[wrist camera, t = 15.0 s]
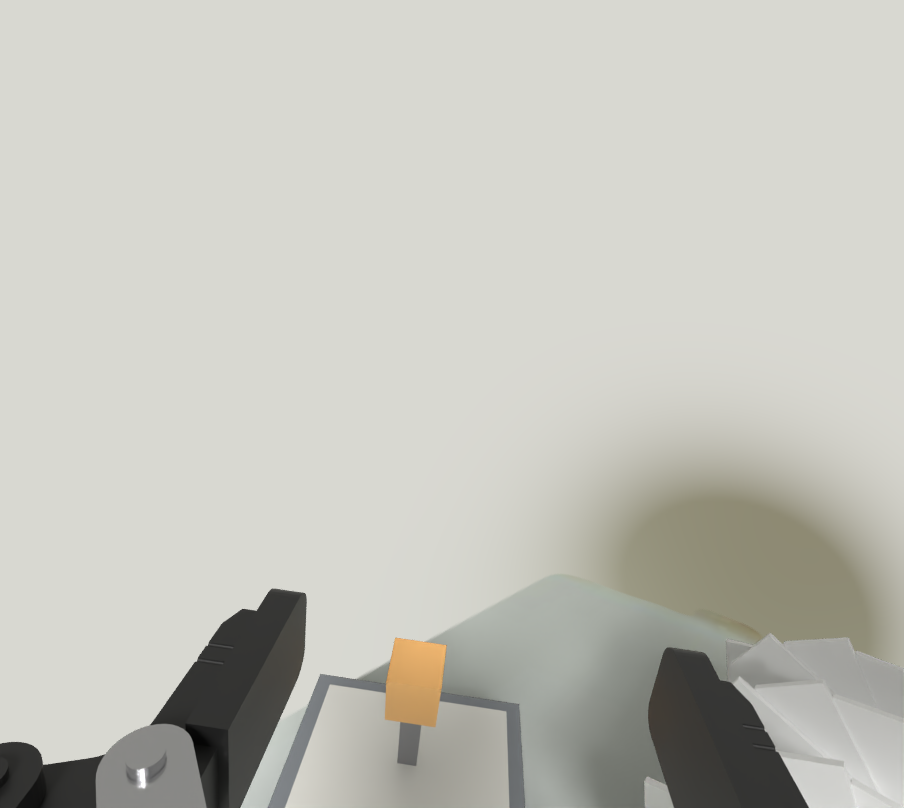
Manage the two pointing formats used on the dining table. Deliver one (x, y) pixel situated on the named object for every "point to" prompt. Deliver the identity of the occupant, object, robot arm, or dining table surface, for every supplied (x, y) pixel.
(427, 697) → the lever
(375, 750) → the block
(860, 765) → the spiral staircase
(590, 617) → the dining table surface
